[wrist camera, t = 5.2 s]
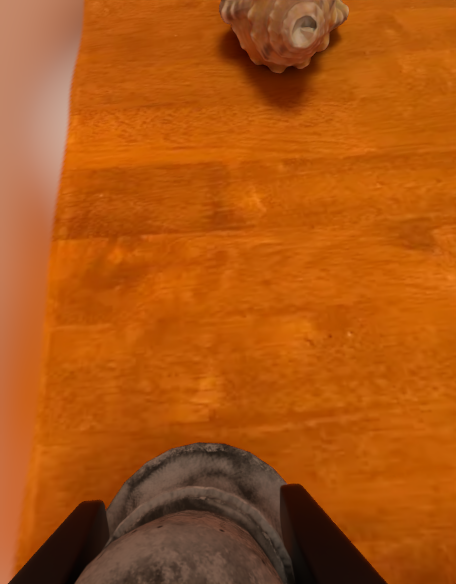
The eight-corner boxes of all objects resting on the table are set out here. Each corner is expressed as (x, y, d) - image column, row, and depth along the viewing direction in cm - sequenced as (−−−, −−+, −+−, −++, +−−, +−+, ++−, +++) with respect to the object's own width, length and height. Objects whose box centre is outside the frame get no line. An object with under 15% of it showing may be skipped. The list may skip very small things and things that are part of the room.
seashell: (352, 101, 28) (412, 9, 18) (243, 132, 29) (243, 59, 19) (321, -29, 28) (365, -195, 18) (210, 5, 28) (192, -139, 18)
